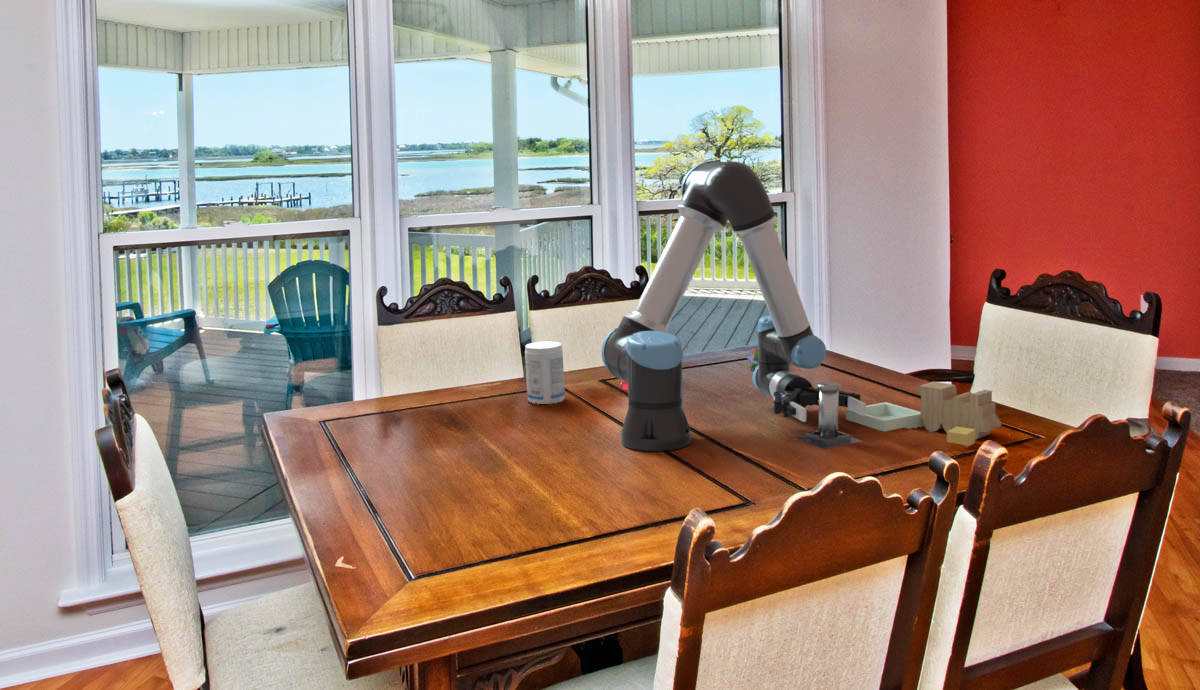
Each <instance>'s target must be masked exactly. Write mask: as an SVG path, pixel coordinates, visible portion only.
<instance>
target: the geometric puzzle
mask: <svg viewBox="0 0 1200 690" xmlns="http://www.w3.org/2000/svg"><path fill="white" fill-rule="evenodd" d="M744 357H745V359H746V360H748V361H749V362H750V367H749V366H748V368H749V370H750V369H751V370H750V371H753V370H752V369H754V370H755V368H756V367H757V366H758V362H759V354H758V347H755V346H753V347H752V348H751V350H750V355H746V356H744ZM748 361H746V362H747V364H749V363H748Z"/></svg>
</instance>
